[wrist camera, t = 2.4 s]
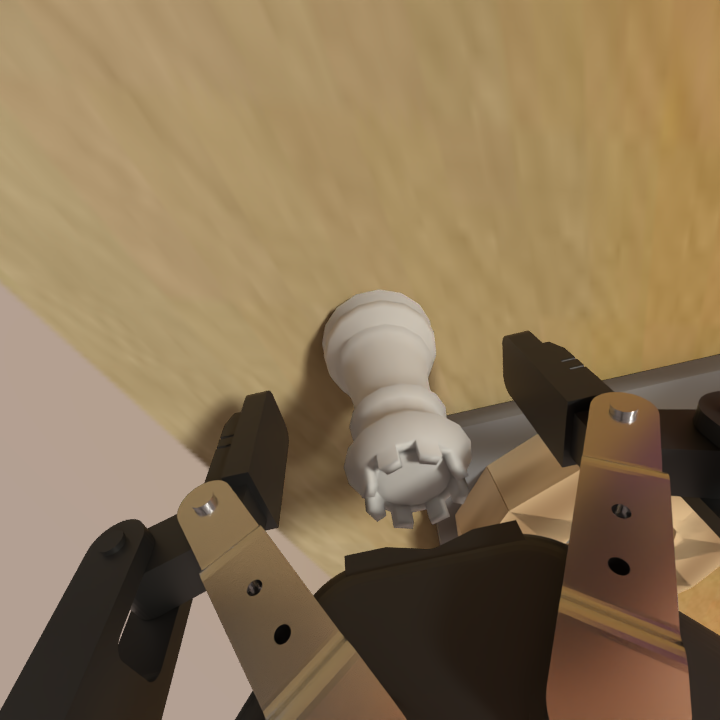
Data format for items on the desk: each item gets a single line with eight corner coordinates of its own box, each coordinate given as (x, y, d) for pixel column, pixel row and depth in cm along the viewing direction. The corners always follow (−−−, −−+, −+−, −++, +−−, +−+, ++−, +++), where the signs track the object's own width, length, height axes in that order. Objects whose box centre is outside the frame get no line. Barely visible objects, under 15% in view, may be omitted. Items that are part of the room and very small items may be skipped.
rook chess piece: (401, 393, 17) (452, 563, 10) (307, 365, 16) (294, 536, 9) (448, 307, 15) (551, 447, 8) (345, 268, 14) (364, 393, 7)
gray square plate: (417, 422, 18) (436, 481, 15) (756, 345, 17) (850, 390, 14) (449, 593, 26) (465, 654, 23) (681, 546, 25) (730, 602, 22)
